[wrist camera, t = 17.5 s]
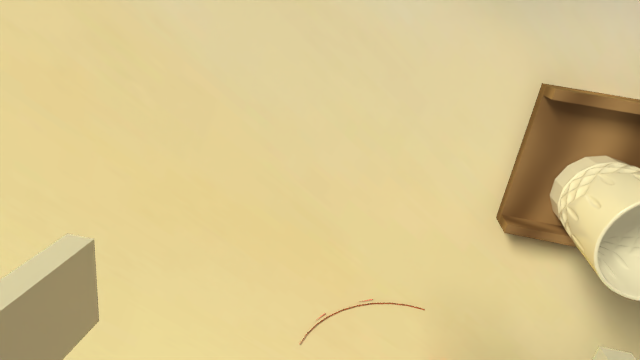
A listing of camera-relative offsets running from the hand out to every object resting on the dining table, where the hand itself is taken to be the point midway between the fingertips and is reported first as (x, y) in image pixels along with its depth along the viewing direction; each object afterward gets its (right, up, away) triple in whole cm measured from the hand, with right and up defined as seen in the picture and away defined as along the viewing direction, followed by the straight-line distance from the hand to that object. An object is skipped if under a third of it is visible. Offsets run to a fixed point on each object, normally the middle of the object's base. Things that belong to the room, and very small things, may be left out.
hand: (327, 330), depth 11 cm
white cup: (+23, +3, +26) cm, 35 cm away
